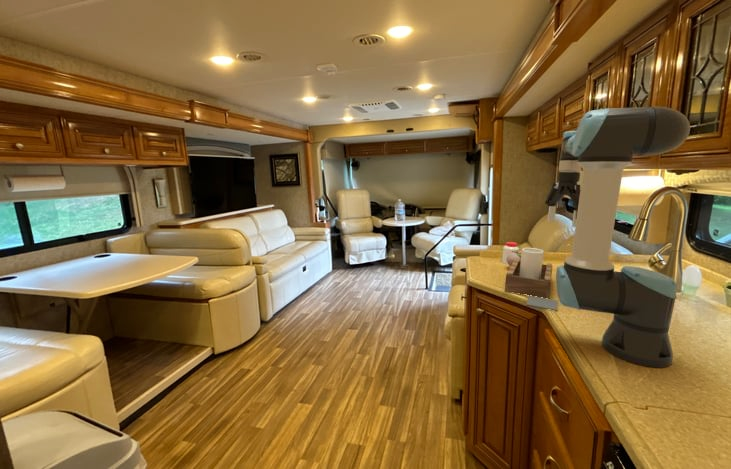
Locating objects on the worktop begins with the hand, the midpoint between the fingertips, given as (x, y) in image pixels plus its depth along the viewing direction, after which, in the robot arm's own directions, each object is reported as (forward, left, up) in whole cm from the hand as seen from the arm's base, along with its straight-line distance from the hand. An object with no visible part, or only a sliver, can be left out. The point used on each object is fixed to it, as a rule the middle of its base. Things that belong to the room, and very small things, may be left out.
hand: (562, 224), depth 136 cm
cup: (-4, +10, -28) cm, 29 cm away
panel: (-23, +4, -27) cm, 36 cm away
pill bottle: (+30, +22, -28) cm, 46 cm away
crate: (-4, +10, -27) cm, 29 cm away
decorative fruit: (+18, +18, -28) cm, 38 cm away
